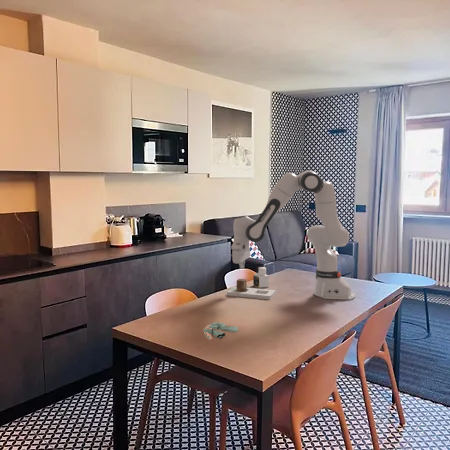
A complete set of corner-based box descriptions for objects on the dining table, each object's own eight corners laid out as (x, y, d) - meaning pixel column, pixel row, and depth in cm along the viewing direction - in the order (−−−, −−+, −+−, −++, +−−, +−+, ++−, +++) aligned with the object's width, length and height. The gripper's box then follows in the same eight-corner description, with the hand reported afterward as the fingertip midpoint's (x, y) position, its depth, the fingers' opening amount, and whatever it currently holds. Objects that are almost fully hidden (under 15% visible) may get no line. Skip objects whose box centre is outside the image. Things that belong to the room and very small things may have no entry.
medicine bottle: (253, 285, 259) (253, 266, 258) (263, 284, 262) (263, 265, 261) (258, 288, 253) (258, 268, 251) (269, 286, 256) (269, 267, 254)
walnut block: (246, 293, 242) (246, 279, 241) (244, 295, 238) (244, 281, 237) (239, 292, 244) (239, 278, 243) (236, 294, 240) (236, 280, 239)
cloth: (217, 322, 195) (217, 316, 195) (255, 332, 181) (255, 327, 181) (185, 334, 180) (185, 329, 179) (225, 347, 166) (225, 341, 165)
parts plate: (275, 293, 240) (275, 290, 240) (270, 299, 228) (270, 296, 228) (234, 289, 249) (234, 286, 249) (226, 295, 237) (226, 292, 237)
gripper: (242, 241, 249) (242, 264, 251) (230, 247, 230) (230, 271, 232) (252, 241, 247) (252, 264, 248) (240, 247, 228) (241, 272, 229)
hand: (242, 268), depth 240 cm, fingers closed
